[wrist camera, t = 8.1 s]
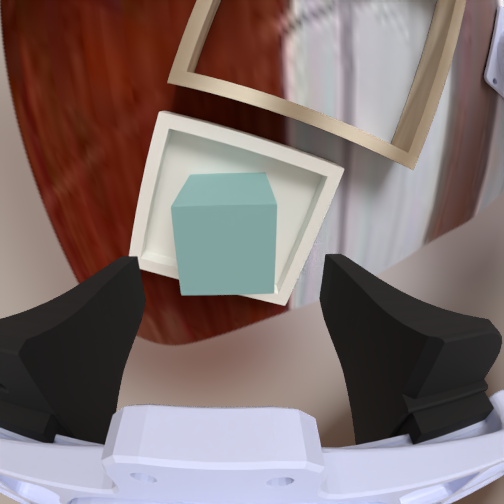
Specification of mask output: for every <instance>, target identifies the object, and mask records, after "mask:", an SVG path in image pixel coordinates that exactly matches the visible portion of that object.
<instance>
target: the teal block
mask: <svg viewBox="0 0 504 504" xmlns="http://www.w3.org/2000/svg"><path fill="white" fill-rule="evenodd" d="M171 215H172V224H173V233H174V242H175V251H176V259H177V267H178V274H179V282H180V289H181V295H239V294H274V284H275V259H276V230H277V202H276V200H275V197H274V194H273V191H272V189H271V186H270V183H269V181H268V178H267V176H266V173H215V174H190V175H189V177H188V179H187V180H186V182H185V184H184V185H183V187H182V189H181V190H180V192H179V194H178V195H177V197H176V199H175V201H174V202H173V204H172V206H171Z"/></svg>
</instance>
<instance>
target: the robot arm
mask: <svg viewBox="0 0 504 504" xmlns="http://www.w3.org/2000/svg"><path fill="white" fill-rule="evenodd" d="M484 79H485V81H486V82H487V83H488V84H489V85H490V86H491V87H492V88H493V89H494V90H495V91H497V92H498V93H499V94H500V95H501V96H502V97H503V98H504V7H498V8H497V15H496V21H495V27H494V32H493V37H492V42H491V47H490V52H489V56H488V60H487V65H486V69H485V73H484ZM493 80H494V83H493ZM319 299H320V303H321V308H322V312H323V317H324V320H325V323H326V326H327V328H328V331H329V334H330V336H331V339H332V342H333V344H334V347H335V350H336V352H337V355H338V358H339V360H340V363H341V366H342V369H343V373H344V377H345V382H346V386H347V391H348V396H349V401H350V406H351V412H352V418H353V426H354V433H355V441H356V445H353V446H347V447H341V448H330V447H329V448H328V447H321V444H320V439H319V434H318V429H317V425H316V420H315V418H313V417H312V416H309V415H308V414H306V413H304V412H302V411H300V410H298V409H295V408H285V407H273V406H262V407H191V406H171V405H157V404H144V405H129V406H125V407H123V408H122V409H121V410H119V411H118V412H116V408H117V402H118V395H119V390H120V385H121V380H122V375H123V371H124V368H125V364H126V361H127V359H128V356H129V353H130V350H131V348H132V344H133V342H134V339H135V337H136V334H137V331H138V328H139V326H140V323H141V320H142V315H143V311H144V306H145V301H146V299H145V294H144V289H143V284H142V278H141V273H140V267H139V262H138V256H123V257H121V258H119V259H117V260H115V261H114V262H112V263H111V264H109V265H108V266H106V267H105V268H103V269H102V270H100V271H99V272H97V273H96V274H94V275H93V276H91V277H90V278H88V279H87V280H85V281H84V282H82V283H80V284H79V285H77V286H76V287H74V288H73V289H71V290H69V291H68V292H66V293H64V294H62V295H60V296H58V297H56V298H54V299H53V300H50V301H48V302H46V303H44V304H41V305H39V306H37V307H34V308H32V309H30V310H27V311H24V312H21V313H18V314H16V315H12V316H9V317H6V318H2V319H0V493H2V494H4V495H6V496H8V497H10V498H11V499H13V500H15V501H17V502H19V503H21V504H451V503H453V502H455V501H457V500H459V499H461V498H463V497H465V496H466V495H469V494H470V493H472V492H474V491H476V490H478V489H480V488H481V487H483V486H485V485H487V484H489V483H490V482H492V481H494V480H496V479H497V478H499V477H501V476H502V475H504V389H503V390H501V391H498V392H496V393H494V394H493V395H492V396H491V397H489V398H488V397H487V395H486V393H485V392H484V391H486V390H487V389H488V385H487V383H486V382H485V380H484V378H485V377H486V375H487V373H488V372H489V370H490V368H491V367H492V365H493V364H494V362H495V360H496V358H497V356H498V354H499V352H500V349H501V344H502V336H501V334H500V333H499V331H498V330H497V329H496V328H495V326H494V325H493V324H492V323H491V321H490V320H488V319H484V318H479V317H473V316H468V315H463V314H459V313H455V312H452V311H448V310H445V309H442V308H439V307H436V306H433V305H431V304H428V303H425V302H423V301H421V300H418V299H416V298H414V297H412V296H410V295H408V294H406V293H403V292H401V291H400V290H398V289H396V288H394V287H392V286H391V285H389V284H387V283H386V282H384V281H382V280H381V279H379V278H377V277H376V276H374V275H373V274H371V273H370V272H368V271H367V270H365V269H364V268H362V267H361V266H359V265H358V264H356V263H355V262H353V261H352V260H350V259H349V258H347V257H346V256H344V255H342V254H326V255H325V262H324V270H323V277H322V284H321V291H320V298H319Z"/></svg>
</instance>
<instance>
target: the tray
mask: <svg viewBox="0 0 504 504" xmlns="http://www.w3.org/2000/svg"><path fill="white" fill-rule="evenodd" d="M343 172H344V168H342V167H341V166H339V165H338V164H336V163H334V162H331V161H328V160H326V159H323V158H321V157H318V156H315V155H312V154H310V153H307V152H304V151H301V150H299V149H296V148H293V147H290V146H287V145H284V144H281V143H278V142H275V141H272V140H269V139H266V138H263V137H260V136H257V135H253V134H250V133H247V132H244V131H240V130H237V129H233V128H230V127H227V126H223V125H219V124H216V123H212V122H209V121H205V120H201V119H197V118H193V117H189V116H185V115H181V114H177V113H173V112H169V111H160V112H159V114H158V118H157V121H156V125H155V129H154V133H153V137H152V141H151V145H150V149H149V153H148V157H147V162H146V166H145V170H144V175H143V180H142V185H141V189H140V194H139V199H138V205H137V210H136V216H135V221H134V227H133V233H132V239H131V246H130V252H129V256H138V262H139V267H140V269H143V270H146V271H150V272H153V273H157V274H161V275H164V276H168V277H172V278H175V279H179V274H178V267H177V259H176V251H175V242H174V233H173V224H172V215H171V206H172V204H173V202H174V201H175V199H176V197H177V195H178V194H179V192H180V190H181V189H182V187H183V185H184V184H185V182H186V180H187V179H188V177H189V175H190V174H215V173H266V176H267V178H268V181H269V183H270V186H271V189H272V191H273V194H274V197H275V200H276V202H277V230H276V259H275V284H274V294H239V295H242V296H246V297H250V298H254V299H259V300H263V301H267V302H271V303H276V304H280V305H284V306H285V305H286V303H287V301H288V299H289V296H290V294H291V292H292V290H293V288H294V286H295V283H296V281H297V279H298V277H299V275H300V272H301V270H302V268H303V266H304V264H305V261H306V259H307V257H308V255H309V252H310V250H311V248H312V245H313V243H314V241H315V239H316V236H317V234H318V232H319V229H320V227H321V225H322V222H323V220H324V218H325V215H326V213H327V211H328V208H329V206H330V203H331V201H332V199H333V196H334V194H335V191H336V189H337V187H338V184H339V182H340V179H341V177H342V174H343Z"/></svg>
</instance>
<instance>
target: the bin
mask: <svg viewBox="0 0 504 504" xmlns="http://www.w3.org/2000/svg"><path fill="white" fill-rule="evenodd" d="M220 1H221V0H197V1H196V4H195V6H194V8H193V11H192V13H191V16H190V19H189V21H188V24H187V26H186V29H185V32H184V34H183V37H182V40H181V43H180V46H179V48H178V51H177V54H176V57H175V60H174V63H173V66H172V69H171V72H170V75H169V78H168V82H167V83H171V84H175V85H180V86H184V87H188V88H193V89H197V90H201V91H205V92H209V93H212V94H216V95H220V96H223V97H227V98H231V99H234V100H238V101H241V102H244V103H248V104H251V105H254V106H257V107H260V108H264V109H267V110H270V111H273V112H276V113H279V114H282V115H284V116H287V117H290V118H293V119H296V120H299V121H301V122H304V123H307V124H309V125H312V126H315V127H317V128H320V129H322V130H325V131H327V132H330V133H332V134H335V135H337V136H340V137H342V138H345V139H347V140H349V141H352V142H354V143H356V144H359V145H361V146H363V147H365V148H368V149H370V150H372V151H374V152H376V153H379V154H381V155H383V156H385V157H387V158H389V159H391V160H393V161H395V162H397V163H400V164H402V165H404V166H406V167H408V168H410V169H412V170H414V168H415V165H416V163H417V160H418V158H419V155H420V153H421V150H422V148H423V145H424V142H425V140H426V137H427V134H428V132H429V129H430V126H431V123H432V121H433V118H434V115H435V112H436V109H437V106H438V103H439V100H440V97H441V94H442V91H443V88H444V85H445V82H446V78H447V75H448V72H449V68H450V65H451V61H452V58H453V54H454V51H455V47H456V43H457V39H458V35H459V31H460V27H461V23H462V18H463V14H464V9H465V4H466V0H437V3H436V7H435V11H434V15H433V19H432V22H431V26H430V30H429V33H428V37H427V40H426V43H425V47H424V50H423V53H422V57H421V60H420V63H419V66H418V69H417V72H416V75H415V78H414V81H413V84H412V87H411V90H410V93H409V96H408V99H407V102H406V105H405V107H404V110H403V113H402V116H401V119H400V121H399V124H398V127H397V129H396V132H395V135H394V137H393V140H392V142H391V144H389V143H387V142H385V141H383V140H381V139H379V138H377V137H375V136H373V135H371V134H368V133H366V132H364V131H362V130H360V129H357V128H355V127H353V126H351V125H348V124H346V123H344V122H341V121H339V120H337V119H334V118H332V117H329V116H327V115H324V114H322V113H319V112H317V111H314V110H312V109H309V108H306V107H304V106H301V105H298V104H296V103H293V102H290V101H287V100H284V99H282V98H279V97H276V96H273V95H270V94H267V93H263V92H260V91H257V90H254V89H251V88H247V87H244V86H241V85H237V84H234V83H230V82H227V81H223V80H219V79H215V78H212V77H208V76H204V75H199V74H195V73H194V71H195V68H196V65H197V62H198V59H199V56H200V53H201V51H202V48H203V45H204V42H205V40H206V37H207V34H208V32H209V29H210V26H211V24H212V21H213V19H214V16H215V13H216V11H217V9H218V6H219V4H220Z"/></svg>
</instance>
